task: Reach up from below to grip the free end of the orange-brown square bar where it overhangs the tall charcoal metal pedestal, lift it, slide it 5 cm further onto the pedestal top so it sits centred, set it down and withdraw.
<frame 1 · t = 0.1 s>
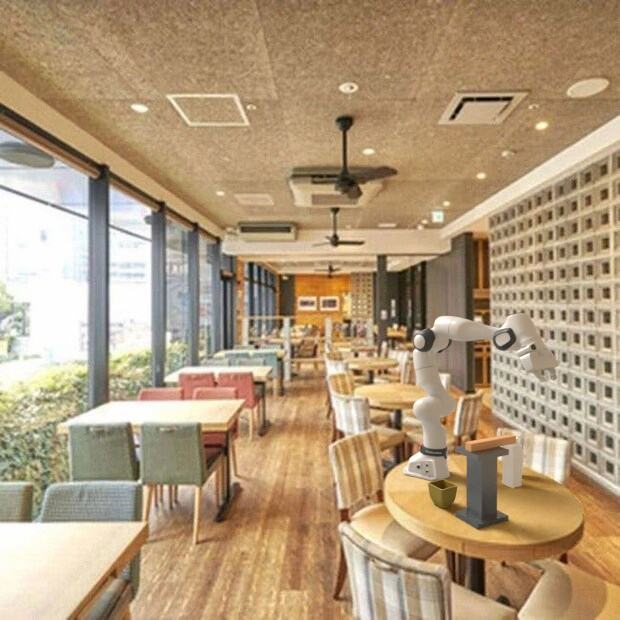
hand: (549, 380, 186), 54 cm above the table, tool tilted 30°, fingers open, 8 cm apart
cup with straw: (517, 476, 230), on the table
milk: (511, 485, 219), on the table
orange-brown square bar: (491, 446, 187), point 28 cm above the table, touching pedestal
flower pot: (442, 505, 198), on the table
pedestal: (481, 518, 186), on the table
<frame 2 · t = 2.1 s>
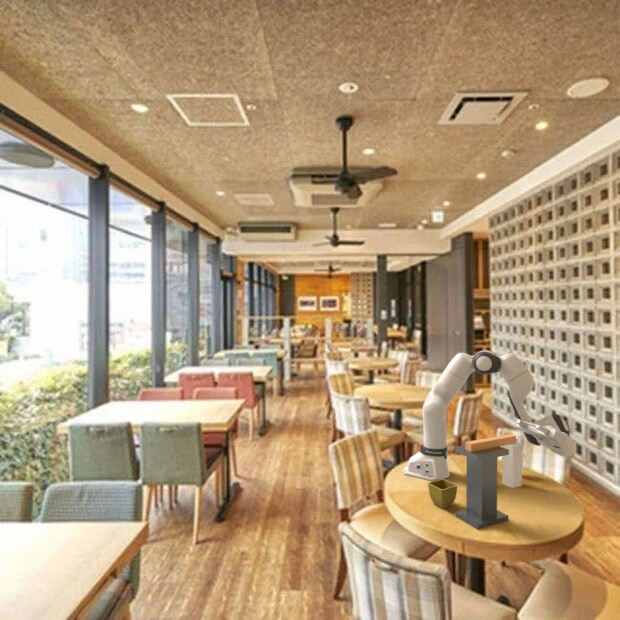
hand: (527, 423, 196), 35 cm above the table, tool pointing upward, fingers open, 8 cm apart
nothing on the table moved.
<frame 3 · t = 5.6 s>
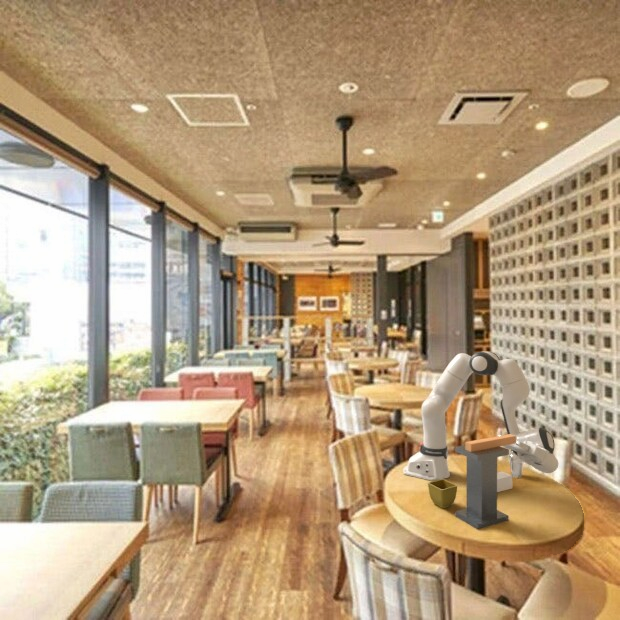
hand: (508, 439, 191), 29 cm above the table, tool pointing upward, fingers open, 8 cm apart
milk: (507, 479, 217), point 3 cm above the table
everything else where it was.
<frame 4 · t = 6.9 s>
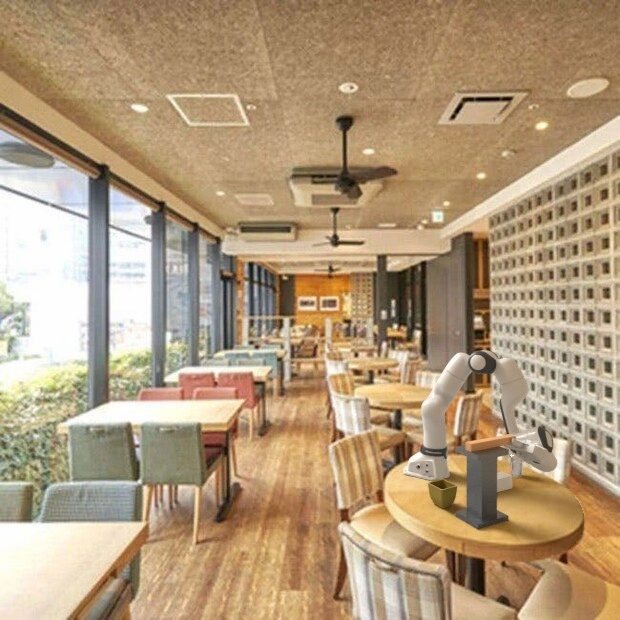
hand: (507, 438, 191), 30 cm above the table, tool pointing upward, fingers closed on orange-brown square bar, 3 cm apart
orange-brown square bar: (491, 446, 187), point 28 cm above the table, touching gripper, pedestal
everything else where it was.
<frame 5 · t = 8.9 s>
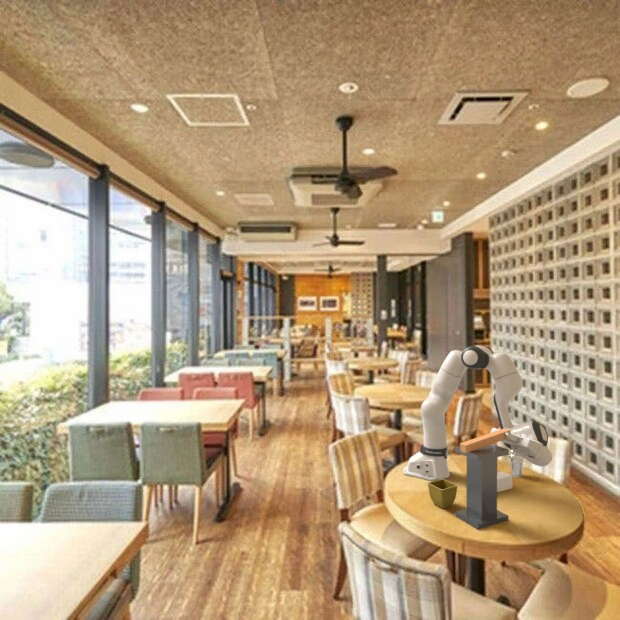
hand: (501, 432, 190), 33 cm above the table, tool pointing upward, fingers closed on orange-brown square bar, 3 cm apart
orange-brown square bar: (486, 443, 186), point 29 cm above the table, tilted 7°, touching gripper
everything else where it was.
when the fingers open (31 cm above the table, at t = 10.2 s): orange-brown square bar stays where it is, resting on pedestal.
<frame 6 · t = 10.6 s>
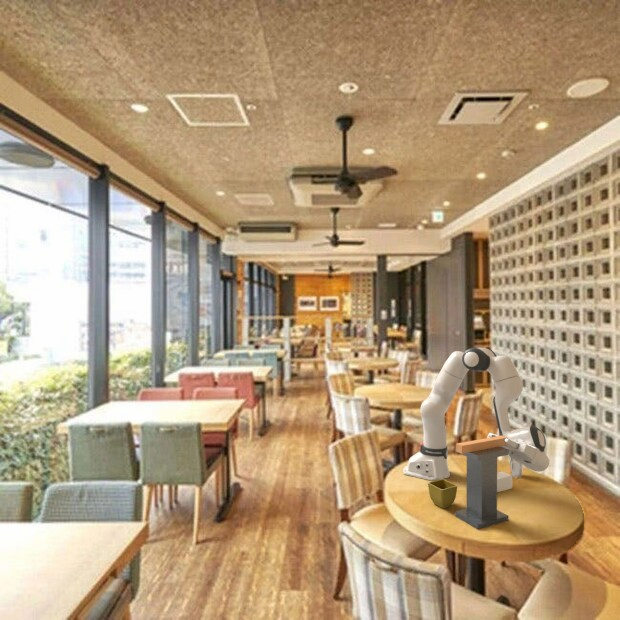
hand: (498, 437, 189), 31 cm above the table, tool pointing upward, fingers open, 7 cm apart
orange-brown square bar: (482, 448, 185), point 28 cm above the table, touching pedestal
everything else where it was.
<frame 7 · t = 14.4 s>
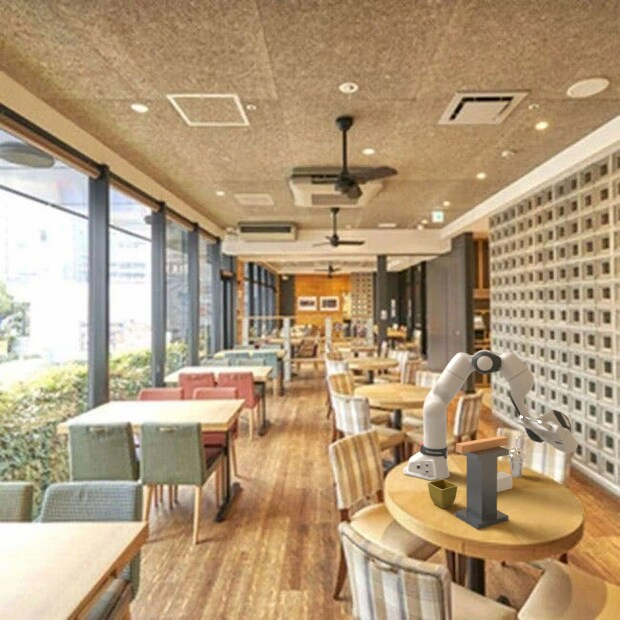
hand: (530, 419, 198), 36 cm above the table, tool pointing upward, fingers open, 8 cm apart
nothing on the table moved.
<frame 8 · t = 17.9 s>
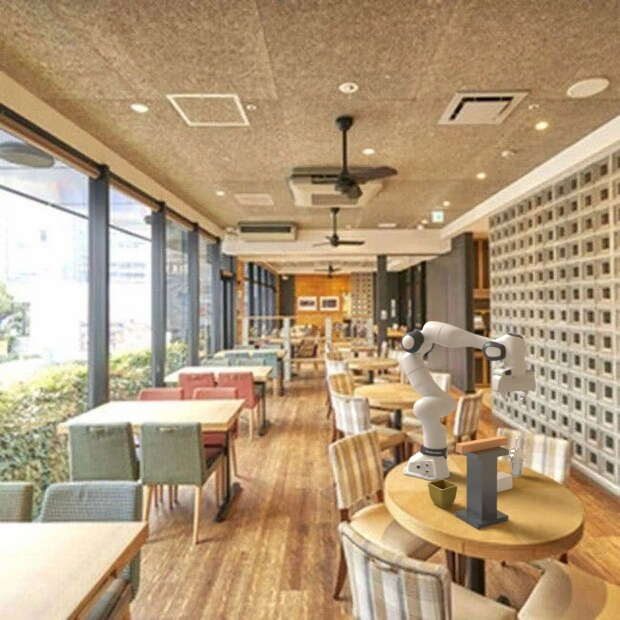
hand: (514, 401, 209), 41 cm above the table, tool pointing down, fingers open, 8 cm apart
nothing on the table moved.
at the end: orange-brown square bar 0.4 cm from the pedestal (horizontally); orange-brown square bar point 28.0 cm above the table; the gripper is holding nothing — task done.
